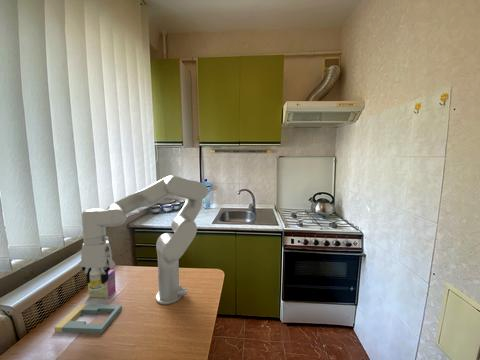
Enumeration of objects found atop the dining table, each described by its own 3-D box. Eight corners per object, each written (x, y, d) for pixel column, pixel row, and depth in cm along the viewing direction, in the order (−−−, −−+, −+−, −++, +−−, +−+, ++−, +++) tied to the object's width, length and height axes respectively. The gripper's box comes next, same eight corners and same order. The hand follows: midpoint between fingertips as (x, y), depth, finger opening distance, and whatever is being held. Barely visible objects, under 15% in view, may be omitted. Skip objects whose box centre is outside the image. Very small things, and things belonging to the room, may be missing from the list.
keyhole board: (121, 309, 94) (121, 305, 94) (101, 333, 81) (101, 328, 81) (81, 308, 95) (80, 303, 94) (54, 331, 82) (54, 327, 81)
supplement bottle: (96, 292, 83) (94, 269, 82) (87, 289, 85) (85, 266, 84) (108, 284, 88) (107, 263, 87) (100, 281, 90) (99, 260, 89)
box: (116, 291, 107) (114, 269, 105) (108, 298, 101) (106, 275, 100) (97, 289, 108) (96, 268, 106) (88, 297, 102) (86, 274, 101)
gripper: (121, 236, 87) (123, 277, 89) (82, 235, 88) (84, 275, 90) (109, 243, 80) (112, 288, 82) (66, 242, 81) (70, 286, 82)
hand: (97, 281), depth 86 cm, fingers closed on supplement bottle, 5 cm apart
